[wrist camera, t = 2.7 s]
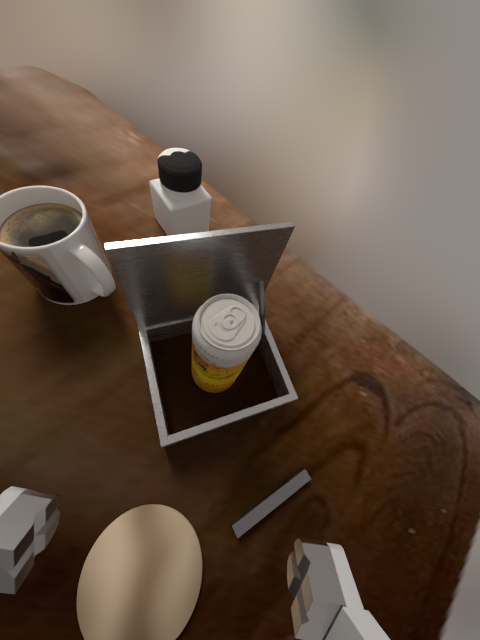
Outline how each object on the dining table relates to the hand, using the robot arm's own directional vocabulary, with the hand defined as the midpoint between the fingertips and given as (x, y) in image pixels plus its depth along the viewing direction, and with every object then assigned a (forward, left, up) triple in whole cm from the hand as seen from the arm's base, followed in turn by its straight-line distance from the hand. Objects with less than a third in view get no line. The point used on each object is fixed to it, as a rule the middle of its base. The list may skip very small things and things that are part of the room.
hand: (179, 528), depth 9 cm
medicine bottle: (+8, +38, -23) cm, 45 cm away
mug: (-9, +29, -23) cm, 37 cm away
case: (+6, +11, -22) cm, 26 cm away
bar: (+8, -5, -23) cm, 25 cm away
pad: (-6, -6, -22) cm, 24 cm away
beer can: (+6, +11, -23) cm, 26 cm away
